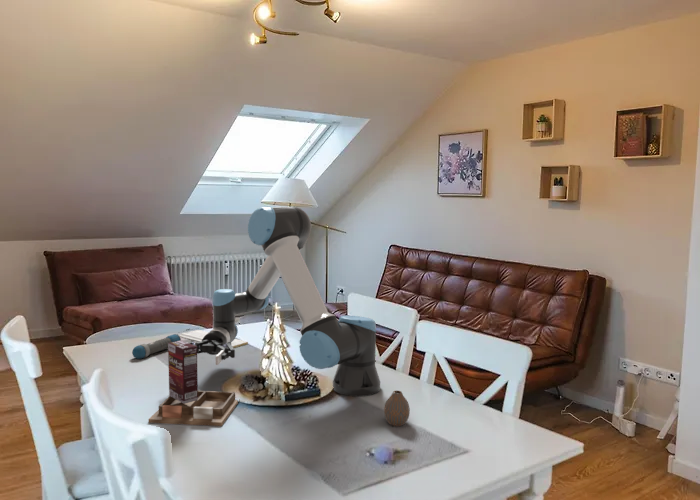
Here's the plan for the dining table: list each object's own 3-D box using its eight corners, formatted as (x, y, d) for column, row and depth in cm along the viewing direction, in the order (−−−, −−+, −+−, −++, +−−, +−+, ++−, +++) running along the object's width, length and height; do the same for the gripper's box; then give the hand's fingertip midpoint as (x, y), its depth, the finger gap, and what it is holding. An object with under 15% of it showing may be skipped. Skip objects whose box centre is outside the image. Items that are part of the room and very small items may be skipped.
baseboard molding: (225, 351, 225) (247, 345, 235) (225, 344, 225) (247, 338, 235) (175, 338, 244) (198, 333, 253) (175, 331, 244) (198, 326, 253)
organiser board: (239, 401, 172) (239, 388, 171) (221, 426, 154) (221, 411, 154) (173, 398, 173) (173, 385, 173) (148, 422, 156) (148, 408, 155)
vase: (388, 429, 154) (389, 397, 153) (380, 419, 160) (381, 388, 159) (413, 426, 156) (414, 395, 155) (404, 417, 162) (404, 386, 161)
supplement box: (168, 396, 167) (167, 342, 165) (183, 392, 170) (182, 339, 169) (183, 404, 161) (182, 348, 159) (198, 400, 164) (198, 345, 163)
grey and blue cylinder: (181, 346, 230) (181, 334, 229) (140, 361, 210) (139, 347, 210) (171, 345, 232) (171, 333, 232) (129, 359, 212) (129, 346, 212)
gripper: (252, 353, 195) (235, 373, 173) (179, 350, 196) (154, 370, 175) (252, 331, 194) (235, 348, 173) (179, 329, 195) (153, 346, 174)
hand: (194, 359), depth 174 cm, fingers open, 13 cm apart
